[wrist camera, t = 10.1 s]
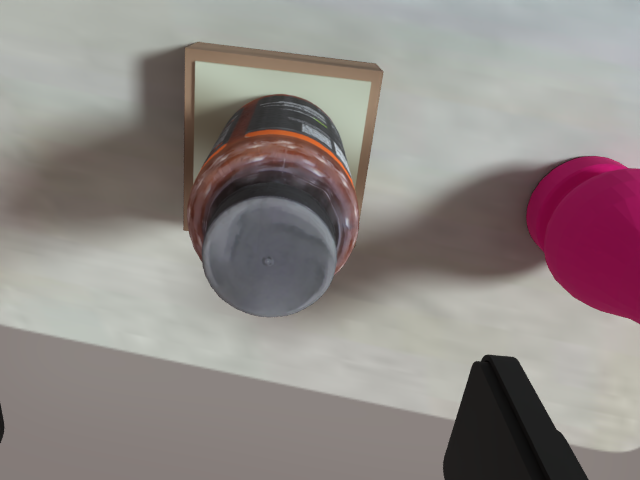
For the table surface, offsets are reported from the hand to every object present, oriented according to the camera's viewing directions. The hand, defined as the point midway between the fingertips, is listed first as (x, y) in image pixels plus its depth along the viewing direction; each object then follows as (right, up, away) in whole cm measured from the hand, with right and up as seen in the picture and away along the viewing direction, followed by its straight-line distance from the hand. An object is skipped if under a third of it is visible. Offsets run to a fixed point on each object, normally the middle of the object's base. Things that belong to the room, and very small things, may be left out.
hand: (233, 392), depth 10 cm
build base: (0, +8, +18) cm, 20 cm away
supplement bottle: (0, +7, +15) cm, 17 cm away
